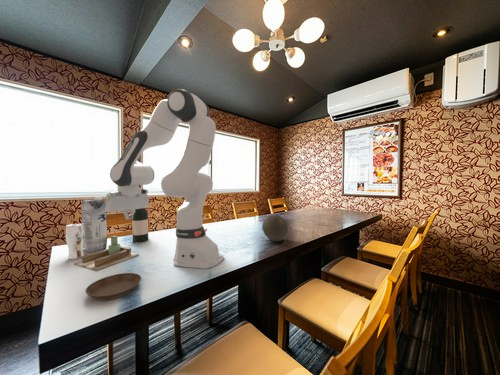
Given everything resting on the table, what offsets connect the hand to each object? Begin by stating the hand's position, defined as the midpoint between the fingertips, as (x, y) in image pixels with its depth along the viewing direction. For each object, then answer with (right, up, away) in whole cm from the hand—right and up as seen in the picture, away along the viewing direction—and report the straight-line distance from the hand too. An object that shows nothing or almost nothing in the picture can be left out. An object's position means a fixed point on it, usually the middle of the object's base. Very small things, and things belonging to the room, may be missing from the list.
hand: (129, 219), depth 100 cm
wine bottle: (-5, -16, +20) cm, 26 cm away
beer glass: (-21, -17, -6) cm, 28 cm away
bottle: (-3, -16, -6) cm, 17 cm away
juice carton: (-21, -17, +5) cm, 27 cm away
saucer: (+16, -18, -35) cm, 42 cm away
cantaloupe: (+74, -16, +16) cm, 78 cm away
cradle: (-4, -17, -9) cm, 19 cm away
